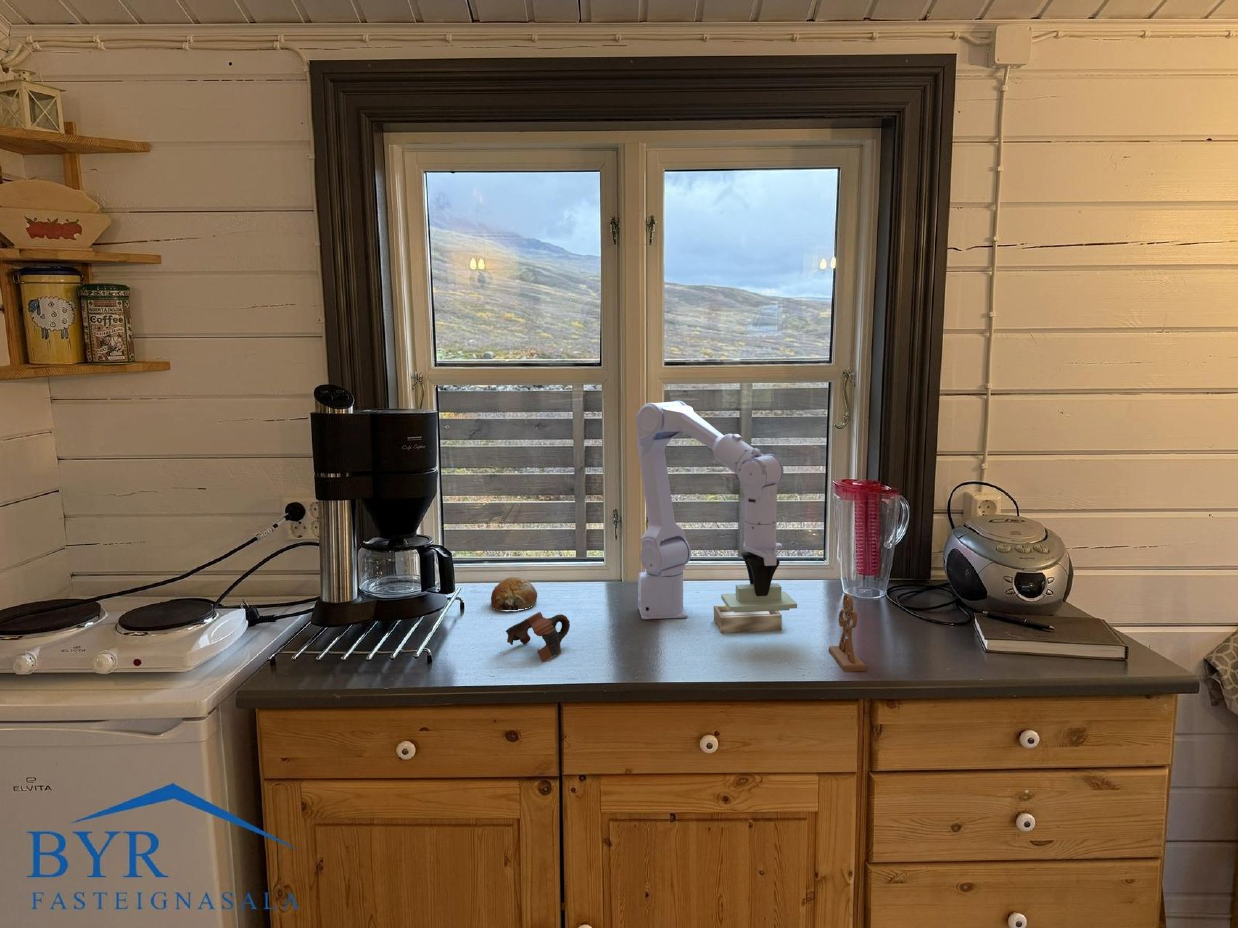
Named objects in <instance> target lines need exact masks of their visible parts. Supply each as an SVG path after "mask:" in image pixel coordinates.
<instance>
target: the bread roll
mask: <svg viewBox="0 0 1238 928" xmlns="http://www.w3.org/2000/svg"><path fill="white" fill-rule="evenodd" d="M490 596H491V597H490V604H491V606H492V608H493V609H494V608H495V609H494V610H496V609H498V610H518V609H525V608H529V607H531V606H532V607H534V606H536V604H537V600H538V592H537V590H536V588H535V586H534V585H533V584H532V583H531V582H530V581H529V580H527V579H525V578H523V577H520V576H513V577H512V576H509V577H506V578H504V579H503V580H501V581H500V582H499V583H498V584H497V585H495V586H494V588H493V590H492V592H491V595H490ZM535 603H536V604H535ZM532 607H531V608H532ZM498 610H497V611H498Z"/></svg>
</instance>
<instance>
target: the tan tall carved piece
mask: <svg viewBox="0 0 1238 928" xmlns="http://www.w3.org/2000/svg"><path fill="white" fill-rule="evenodd" d="M842 605H843V607H842V608H843V609H840V611H839V613H838V625H839V627H840V628H842V634H841V636H840V640H839V644H838V645H830V646H828V653H829V654H830V656H831V657H832V659H834V661H835V662H836V663H837V665H838V667H839V668H840V669H841V671H843V672H865V671H866V665H865V663H864V662H863V660H862V659H861V658H860V657H859V656H858V655H857V654H856V653H855V651H854V646H853V645H854V644H853V638H852V637H853V629H855V628H856V627H857V623H858V613H857V610H854V600H853V597H852V595H851V594H850V593H848V594H846V593H845V594H844V595H843V599H842ZM850 622H852V624H851V623H850ZM846 637H847V638H846Z"/></svg>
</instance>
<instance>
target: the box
mask: <svg viewBox="0 0 1238 928" xmlns="http://www.w3.org/2000/svg"><path fill="white" fill-rule="evenodd" d="M713 621H714V623H715V625H716V626H717V628H718V630H719V632H720V633H740V632H741V633H742V632H743V633H744V632H745V633H746V632H765V631H769V632H770V631H782V627H783V626H782V625H783V614H782V613H781V612H780V611H760V612H737V613H734V611H729V609H728V608H727V606H726V605H713Z"/></svg>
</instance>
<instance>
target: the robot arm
mask: <svg viewBox="0 0 1238 928" xmlns="http://www.w3.org/2000/svg"><path fill="white" fill-rule="evenodd" d="M635 423H636V431H637V438H636V448H637V453H638V454H637V455H638V460H639V461H638V462H639V468H640V473H641V475H640V476H641V481H642V487H643V488H642V489H643V494H644V495H643V496H644V500H645V509H646V515H647V520H648V528H647V529H646V530H645V532H644V534H643V535H642V536H641V539H640V540H641V541H640V542H641V549H640V555H639V556H640V563H641V565H642V567H643V568H644V570H645V571H641V572H639V573H638V574H637V575H638V577H637V579H638V580H637V584H638V585H637V592H638V593H637V594H638V598H637V606H638V610H639V611H638V612H639V614H640V617H641V619H642V620H659V619H660V620H661V619H677V618H679V619H681V618H683V619H684V618H685V619H686V618H688V616H689V614H688V612H687V610H686V609H685V607H684V571H685V570H686V565H687V564H688V563H689V561H690V560H691V555H692V550H691V549H692V548H691V546H690V544H689V542H688V540H687V538H686V534H685V530H684V529H683V528H681V526H679V525H678V524H677V523H676V519H675V512H674V506H673V499H672V492H671V491H672V490H671V486H670V480H669V479H670V478H669V473H668V465H667V459H666V452H665V449H666V447H667V446H668V445H669V443H670V442H671V441H672V439H674V438H676V437H677V436H678V435H679V434H680V433H682V432H683V433H684V434H686V435H688V436H690V437H691V438H693V439H694V440H696V441H697V442H700V443H701V444H702V445H704V446H706V447H707V448H710V449H711V450H712V454H713V457H714V459H715V460H716V461H718V463H720V464H722V465H723V466H725V468H727V469H729V470H730V471H731V472H733V473H734V474H735V475H737V476H738V480H739V482H740V484H741V486H742V488H743V491H742V492H743V495H744V541H743V550H744V551H743V552H740V555H741V557H742V559H743V561H744V564H745V566H746V569H747V575H748V580H749V581H748V582H749V584H754V590H755V594H756V596H768V593H769V589H770V585H771V583H772V580H773V577H774V575H775V572H776V570H777V569H778V567H779V566H780V563H781V561H780V560H779V559H778V558H777V556H778V555H777V551H778V550H782V549H783V544H782V543H781V542H777V514H778V513H777V511H778V510H777V508H778V507H777V505H778V504H777V503H778V501H777V500H778V484H779V483H781V481H782V479H783V477H784V471H785V470H784V467H783V464H782V461H780V459H779V458H777V456H776V455H775V454H773V453H765V454H763V453H761V449H759V448H758V447H755V448H754V447H753V446H751V445H750V444H748V443H746V441H744V440H742V439H743V436H742V435H740V434H738V433H734V434H733V433H726V434H724V435H723V433H721V432H720V431H719V430H718V429H716V428H715V427H714V426H713V425H711V424H710V423H709V422H708V421H706V420H705V419H703V418H702V417H701V416H700V415H698V413H696V412H695V411H694V409H693V406H690V405H687V404H686V403H685V402H684V401H682V400H674V401H665V402H655V403H654V402H646V403H645V404H643V405H642V406H641V408H640V409H639V411H638V412H637V414H636V415H635Z"/></svg>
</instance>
